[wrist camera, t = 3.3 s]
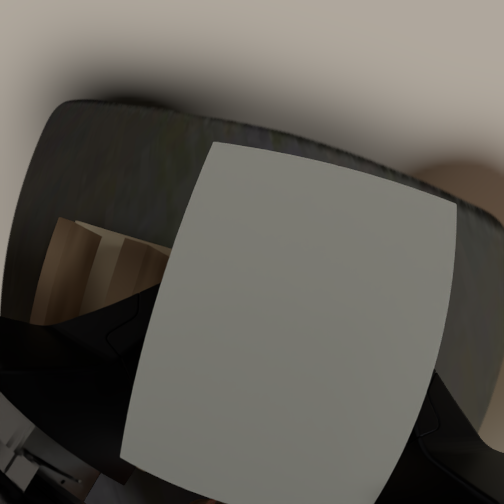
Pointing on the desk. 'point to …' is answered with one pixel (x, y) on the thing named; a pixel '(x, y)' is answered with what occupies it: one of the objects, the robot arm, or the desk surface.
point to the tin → (207, 501)
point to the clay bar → (291, 332)
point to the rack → (93, 271)
